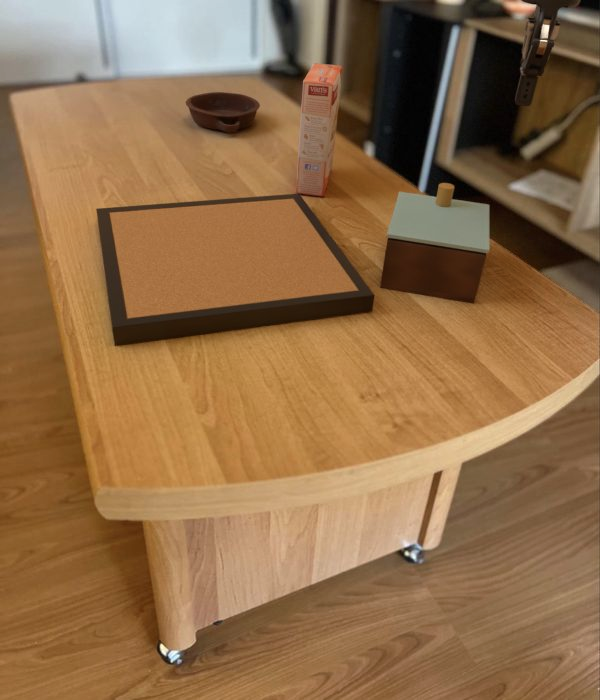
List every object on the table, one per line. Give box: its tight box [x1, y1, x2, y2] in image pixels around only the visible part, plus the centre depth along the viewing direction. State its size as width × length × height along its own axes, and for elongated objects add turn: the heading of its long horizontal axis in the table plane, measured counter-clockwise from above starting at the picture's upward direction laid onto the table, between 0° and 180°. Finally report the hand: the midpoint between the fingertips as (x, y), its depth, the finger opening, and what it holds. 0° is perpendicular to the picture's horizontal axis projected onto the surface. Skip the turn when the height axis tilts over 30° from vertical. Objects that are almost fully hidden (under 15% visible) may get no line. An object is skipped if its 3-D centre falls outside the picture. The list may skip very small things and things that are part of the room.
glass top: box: [386, 182, 491, 254], centre depth 94 cm, size 14×16×4 cm
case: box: [379, 238, 488, 304], centre depth 98 cm, size 14×16×8 cm
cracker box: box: [295, 62, 343, 198], centre depth 120 cm, size 14×6×21 cm, turn 171°
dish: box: [185, 91, 261, 134], centre depth 151 cm, size 18×22×5 cm
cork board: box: [95, 193, 375, 347], centre depth 97 cm, size 36×3×35 cm
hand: (522, 104), depth 89 cm, fingers closed
